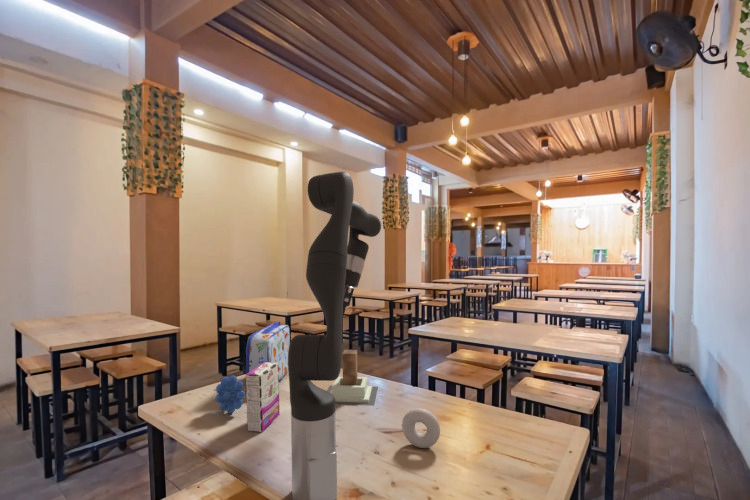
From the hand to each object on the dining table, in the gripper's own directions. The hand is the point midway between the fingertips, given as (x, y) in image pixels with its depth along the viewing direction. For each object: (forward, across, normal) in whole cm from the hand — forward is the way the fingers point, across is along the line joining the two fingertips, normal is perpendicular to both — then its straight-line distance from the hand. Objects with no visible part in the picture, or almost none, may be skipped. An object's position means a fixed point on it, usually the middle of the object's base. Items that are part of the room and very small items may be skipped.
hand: (335, 318), depth 118 cm
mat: (+23, -12, +16) cm, 31 cm away
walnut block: (+22, -12, +16) cm, 30 cm away
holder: (+23, -12, +16) cm, 31 cm away
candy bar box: (+35, -3, -10) cm, 37 cm away
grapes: (+37, -14, -19) cm, 44 cm away
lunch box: (+29, -37, -8) cm, 48 cm away
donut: (+26, +25, +26) cm, 44 cm away
